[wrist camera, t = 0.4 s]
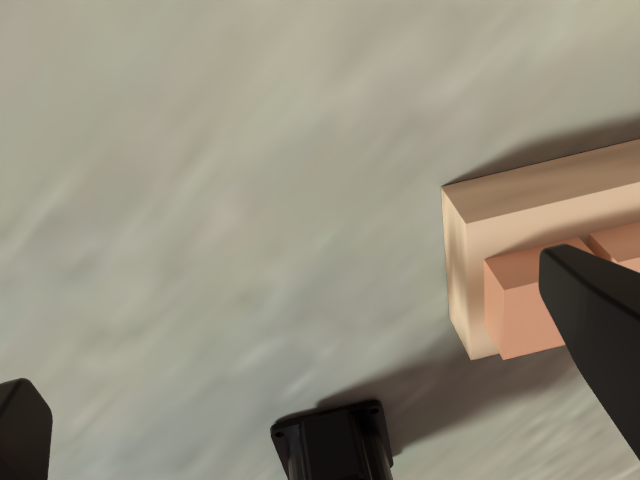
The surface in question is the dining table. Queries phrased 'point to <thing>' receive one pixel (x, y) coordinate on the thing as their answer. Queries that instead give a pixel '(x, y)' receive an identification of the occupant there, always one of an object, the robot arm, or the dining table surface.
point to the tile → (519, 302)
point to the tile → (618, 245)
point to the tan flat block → (530, 221)
